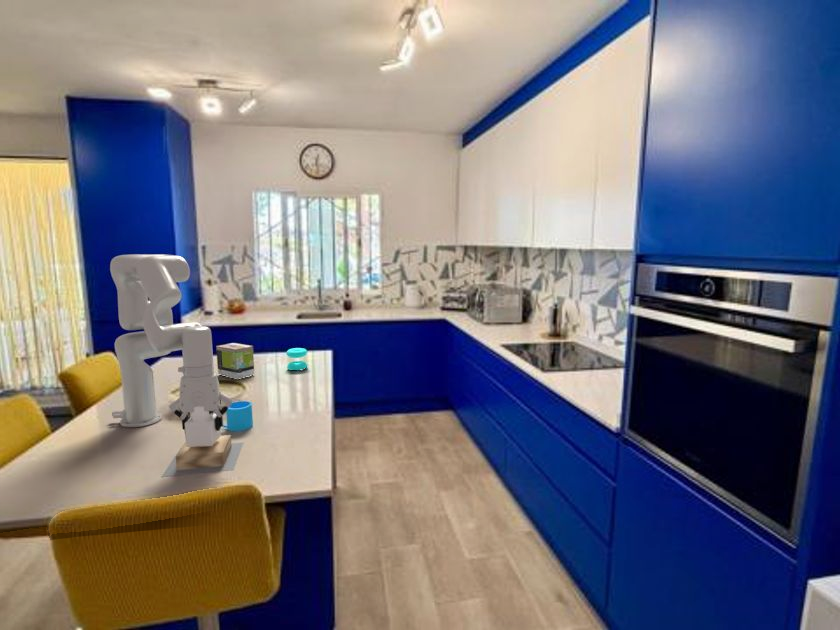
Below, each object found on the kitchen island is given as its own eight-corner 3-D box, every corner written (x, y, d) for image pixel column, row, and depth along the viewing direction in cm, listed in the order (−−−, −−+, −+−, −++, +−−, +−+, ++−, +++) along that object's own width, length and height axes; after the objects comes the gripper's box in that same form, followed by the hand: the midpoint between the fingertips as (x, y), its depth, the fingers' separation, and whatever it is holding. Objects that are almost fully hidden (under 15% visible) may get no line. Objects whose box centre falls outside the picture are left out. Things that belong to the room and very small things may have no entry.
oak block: (176, 470, 123) (175, 456, 123) (188, 451, 135) (187, 438, 134) (223, 465, 126) (223, 452, 125) (231, 447, 138) (230, 434, 137)
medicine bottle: (196, 436, 133) (193, 397, 131) (221, 435, 134) (218, 397, 132) (185, 447, 126) (182, 406, 124) (212, 446, 127) (209, 405, 125)
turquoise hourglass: (289, 347, 232) (309, 347, 231) (290, 366, 233) (309, 366, 233) (283, 351, 222) (303, 352, 222) (284, 371, 223) (304, 371, 223)
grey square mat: (161, 479, 120) (161, 477, 120) (180, 449, 137) (180, 447, 137) (233, 471, 124) (233, 469, 124) (243, 444, 141) (243, 442, 141)
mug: (255, 422, 159) (254, 400, 157) (250, 432, 151) (249, 408, 149) (219, 424, 157) (217, 402, 156) (212, 434, 149) (210, 410, 148)
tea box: (255, 375, 216) (253, 345, 214) (237, 380, 208) (235, 349, 206) (235, 371, 224) (233, 341, 222) (217, 375, 216) (215, 345, 214)
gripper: (160, 376, 121) (165, 438, 124) (229, 372, 125) (233, 432, 128) (169, 368, 128) (173, 427, 131) (234, 365, 132) (237, 422, 135)
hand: (203, 429), depth 129 cm, fingers closed on medicine bottle, 7 cm apart
